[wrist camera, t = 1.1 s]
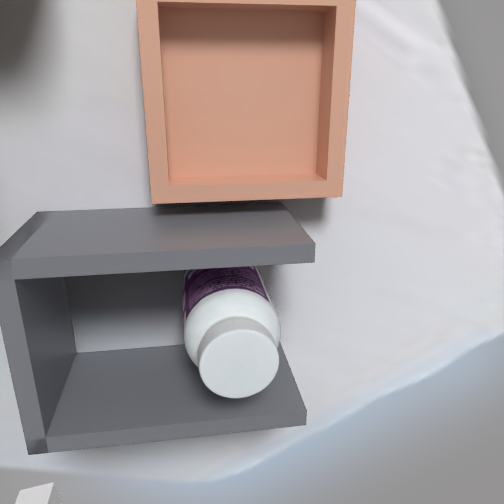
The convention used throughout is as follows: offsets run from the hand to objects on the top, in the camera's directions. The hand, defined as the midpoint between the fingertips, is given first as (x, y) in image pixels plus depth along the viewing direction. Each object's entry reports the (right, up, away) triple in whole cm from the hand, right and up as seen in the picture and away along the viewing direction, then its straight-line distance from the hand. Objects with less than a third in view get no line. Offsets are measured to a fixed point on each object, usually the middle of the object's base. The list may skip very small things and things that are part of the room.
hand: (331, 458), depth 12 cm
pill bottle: (-4, +3, +20) cm, 21 cm away
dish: (-3, +14, +16) cm, 21 cm away
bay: (-8, +3, +19) cm, 21 cm away
